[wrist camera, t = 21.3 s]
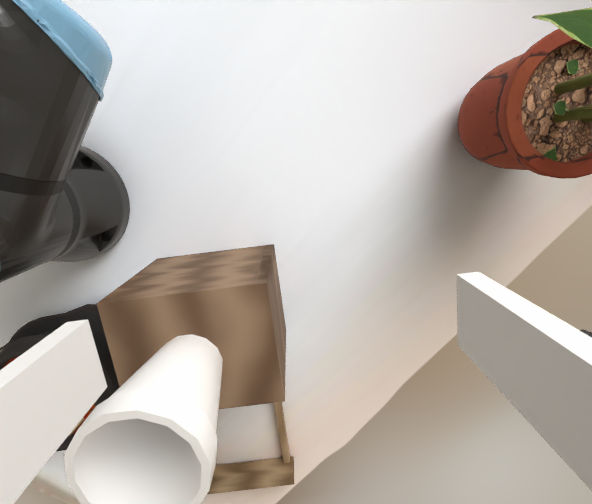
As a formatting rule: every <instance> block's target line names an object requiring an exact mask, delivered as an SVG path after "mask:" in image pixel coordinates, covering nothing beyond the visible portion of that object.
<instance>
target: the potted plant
mask: <svg viewBox="0 0 592 504" xmlns="http://www.w3.org/2000/svg"><path fill="white" fill-rule="evenodd" d="M532 18H535V19H540V20H545V21H550V22H551V23H553V24H554V25H555V26H557V27H558V28H559V29H558V30H555V31H554V32H552V33H550V34H549V35H547V36H545V37H544V38H542V39H541V40H540V41H538V42H537V43H535V44H534V45H532V46H531V47H530V48H529V49H528V50H527V51H526V52H525V53H524V54H522V55H520V56H518V57H516V58H513V59H511V60H509V61H507V62H505V63H503V64H501V65H499V66H497V67H496V68H494V69H493V70H491V71H490V72H489V73H487V74H486V75H485V76H484V77H483V78H482V79H481V80H479V81H478V82H477V83H476V84H475V85H474V86H473V87H472V88H471V89H470V91H469V92H468V94H467V95H466V97H465V98H464V101H463V103H462V105H461V108H460V112H459V117H458V130H459V135H460V138H461V141H462V143H463V145H464V147H465V149H466V150H467V151H468V152H469V153H470V154H471V155H472V156H474V157H475V158H476V159H478V160H480V161H483V162H485V163H488V164H490V165H493V166H495V167H500V168H505V169H520V170H530V171H532V172H534V173H537V174H539V175H544V176H549V177H555V178H577V177H582V176H586V175H590V174H592V8H586V9H580V10H574V11H567V12H561V13H554V14H546V15H537V16H534V17H532Z"/></svg>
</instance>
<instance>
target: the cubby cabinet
mask: <svg viewBox="0 0 592 504" xmlns="http://www.w3.org/2000/svg"><path fill="white" fill-rule="evenodd" d="M97 307H98V311H99V314H100V318H101V322H102V325H103V329H104V332H105V336H106V340H107V343H108V347H109V350H110V354H111V358H112V361H113V365H114V368H115V372H116V376H117V379H118V383H119V386H120V387H121V386H122V385H123V384H124V383H125V382H126V381H127V380H128V379H129V378H130V377H131V376H132V375H133V374H134V373H135V372H136V371H137V370H139V369H140V368H141V367H142V366H143V365H144V364H145V363H146V362H147V361H148V360H149V359H150V358H151V357H152V356H153V355H154V354H155V353H156V352H157V351H158V350H159V349H160V348H162V347H163V346H164V345H165V344H166V343H167V342H169V341H171V340H172V339H174V338H175V337H177V336H182V335H190V334H193V335H196V336H200V337H203V338H206V339H208V340H209V341H210V342H211V343H212V344H214V345H215V346H216V347H217V348H218V350H219V353H220V355H221V357H222V359H223V362H222V378H221V389H220V399H219V409H224V408H233V407H241V406H249V405H258V404H266V403H275V402H283V401H285V353H286V327H285V320H284V313H283V306H282V299H281V292H280V285H279V278H278V270H277V263H276V256H275V249H274V244H273V245H265V246H257V247H249V248H241V249H232V250H224V251H216V252H208V253H200V254H192V255H184V256H176V257H168V258H160V259H156V260H155V261H154V262H152V263H151V264H150V265H148V266H147V267H145V268H144V269H143V270H141V271H140V272H139V273H137V274H136V275H135V276H133V277H132V278H131V279H129V280H128V281H127V282H125V283H124V284H123V285H121V286H120V287H118V288H117V289H116V290H114V291H113V292H112V293H110V294H109V295H108V296H106V297H105V298H104V299H102V300H101V301H100V302H98V303H97Z"/></svg>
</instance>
